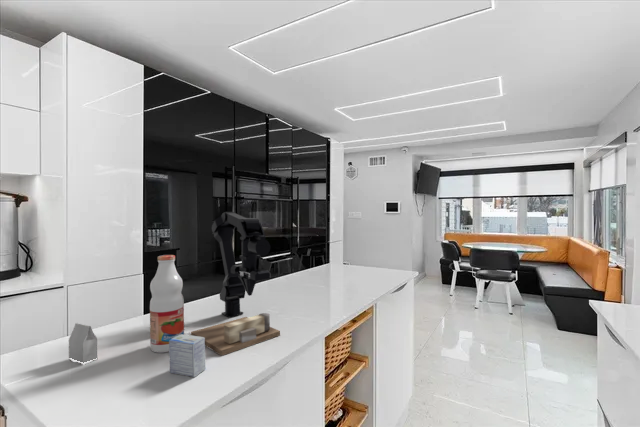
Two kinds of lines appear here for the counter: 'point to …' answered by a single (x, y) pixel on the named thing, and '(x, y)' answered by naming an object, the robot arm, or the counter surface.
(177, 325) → the fruit juice
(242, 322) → the hinged leg
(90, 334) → the grey milk carton
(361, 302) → the counter surface
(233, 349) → the wooden board
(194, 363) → the medicine box
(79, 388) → the counter surface
